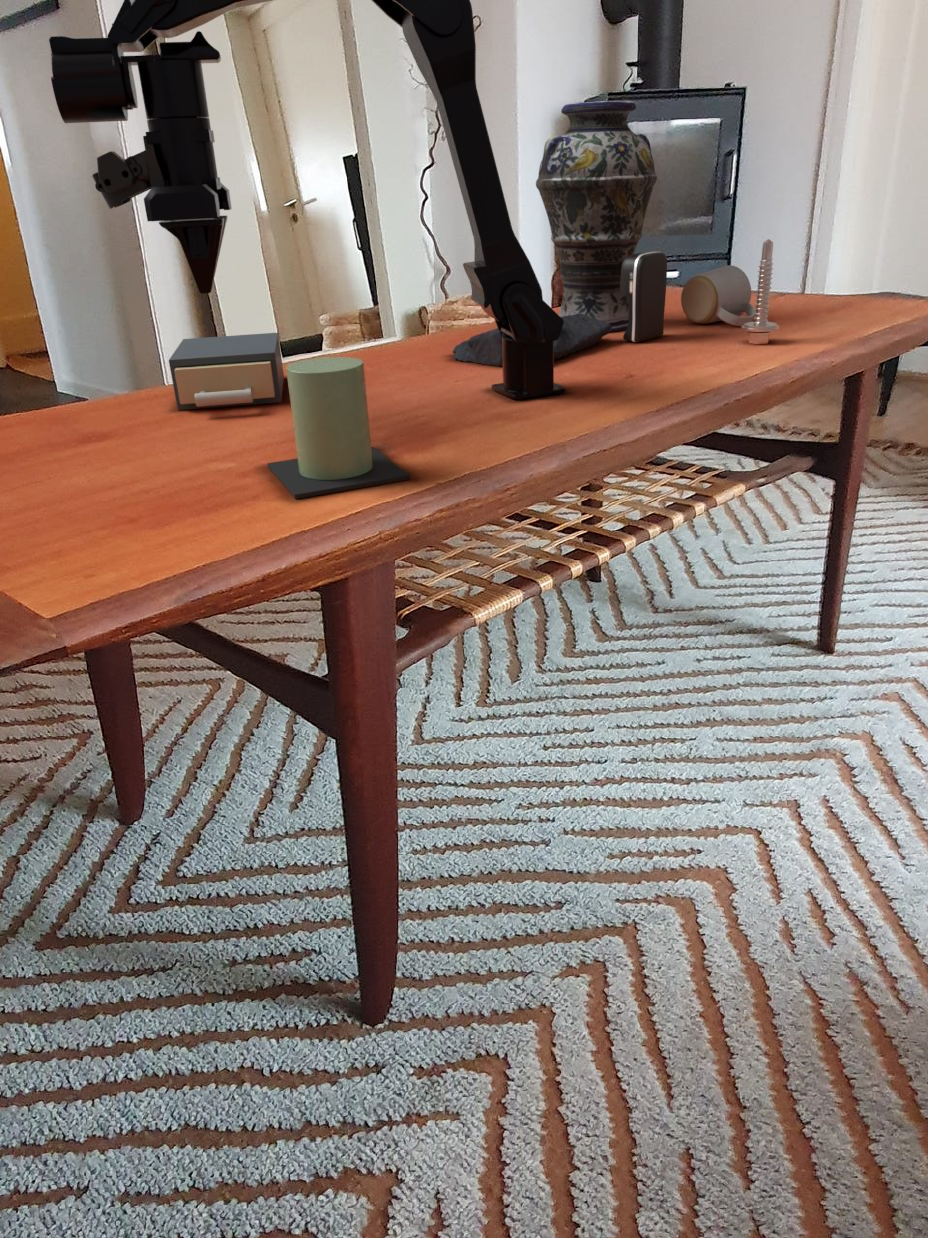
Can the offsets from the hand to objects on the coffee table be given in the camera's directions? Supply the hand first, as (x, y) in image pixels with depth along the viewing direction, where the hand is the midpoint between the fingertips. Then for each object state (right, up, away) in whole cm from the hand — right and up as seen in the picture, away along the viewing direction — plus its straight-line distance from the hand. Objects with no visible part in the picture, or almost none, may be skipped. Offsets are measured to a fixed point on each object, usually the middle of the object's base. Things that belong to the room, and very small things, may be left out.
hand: (205, 292), depth 95 cm
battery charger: (+51, +6, +37) cm, 64 cm away
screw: (+66, +4, +31) cm, 73 cm away
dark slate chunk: (+36, +3, +33) cm, 49 cm away
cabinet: (-1, -6, +17) cm, 18 cm away
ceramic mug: (+65, +12, +47) cm, 81 cm away
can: (+15, -20, -13) cm, 28 cm away
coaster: (+15, -20, -13) cm, 29 cm away
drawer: (-1, -7, +14) cm, 15 cm away
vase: (+46, +11, +48) cm, 68 cm away
